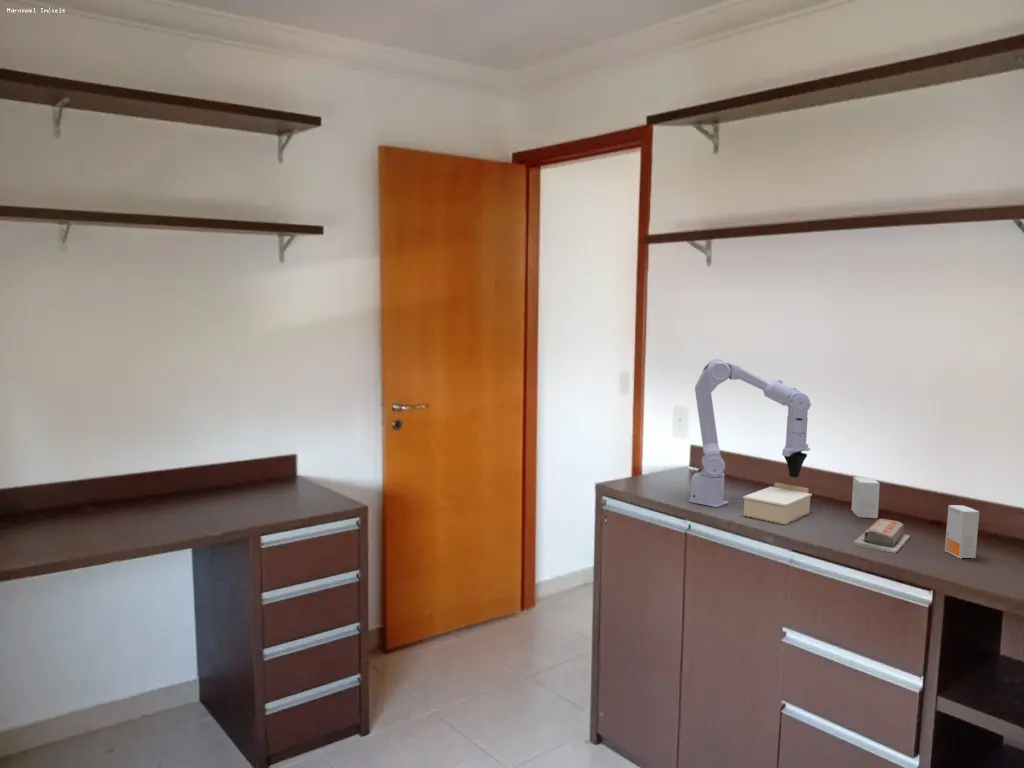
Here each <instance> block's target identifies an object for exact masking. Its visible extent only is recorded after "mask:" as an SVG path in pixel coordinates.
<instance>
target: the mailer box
mask: <svg viewBox="0 0 1024 768" xmlns="http://www.w3.org/2000/svg"><path fill="white" fill-rule="evenodd" d="M810 506H811V496H810V497H808V498H805V499H803V500H801V501H798V502H796V503H794V504H791V505H789V506H787V507H784V506H779V505H774V504H769V503H764V502H759V501H753V500H748V499H744V500H743V517H744V516H747V517H746V518H748V517H752V518H751V519H753V518H756V519H755V520H758V519H761V520H760V521H762V520H765V521H764V522H767V521H770V522H769V523H772V522H774V523H773V524H777V523H779V524H778V525H781V524H785V525H787V524H790V523H791V521H792V522H794V521H796V520H798V519H800V518H803V517H804V515H805V516H806V515H809V514H810V510H811V509H810V508H811V507H810ZM802 516H803V517H802ZM789 522H790V523H789Z"/></svg>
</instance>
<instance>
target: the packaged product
mask: <svg viewBox="0 0 1024 768" xmlns="http://www.w3.org/2000/svg"><path fill="white" fill-rule="evenodd" d="M903 531H904V523H902V522H900V521H898V520H892V519H887V518H877V519H876V520H875V521H874V522H873V524H871V525H870V526H869V527H868V528H867V529H865V531H864V532H863V533H862V534H861V535H860V536H858V538H856V539H855V540H854V542H853V543H854V546H855V547H858V546H859V548H864V549H869V550H873V549H874V551H879V552H885V551H886V552H885V553H889V552H893V553H892V554H894V553H896V552H897V553H898V552H899V551H900V550H901V548H902V547H903V546H904V545H905V544H906V543H907V541H909V539H910V537H911V535H910V534H905V533H903ZM897 553H896V554H897Z"/></svg>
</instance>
